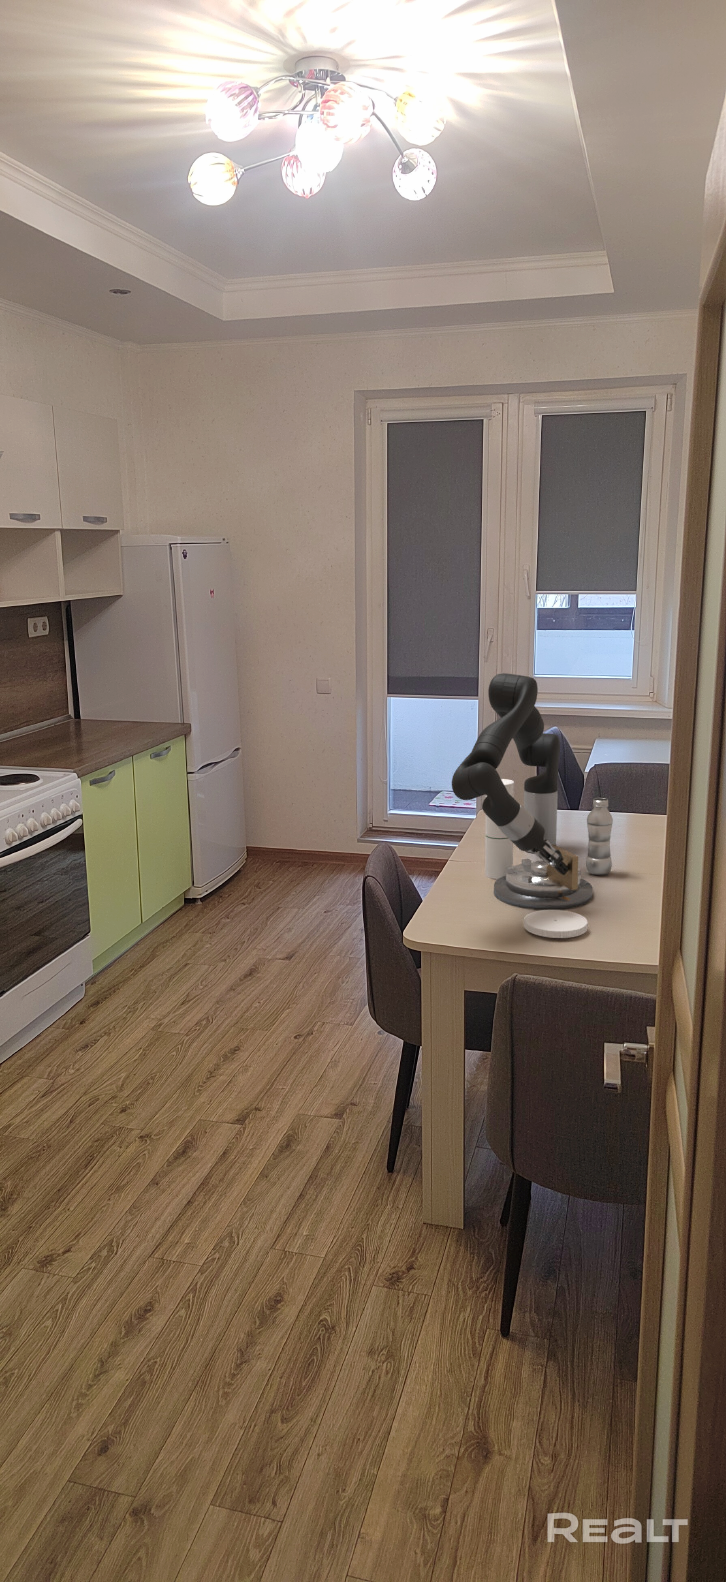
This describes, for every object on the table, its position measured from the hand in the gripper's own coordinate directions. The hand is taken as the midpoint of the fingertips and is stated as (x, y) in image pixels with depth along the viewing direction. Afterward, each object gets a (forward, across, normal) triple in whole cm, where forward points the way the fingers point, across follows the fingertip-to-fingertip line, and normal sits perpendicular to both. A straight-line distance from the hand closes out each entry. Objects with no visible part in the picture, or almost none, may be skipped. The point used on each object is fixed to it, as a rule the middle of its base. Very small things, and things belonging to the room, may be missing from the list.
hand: (565, 871), depth 243 cm
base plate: (+8, +12, +6) cm, 15 cm away
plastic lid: (+1, -10, +13) cm, 17 cm away
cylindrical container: (+6, +30, +8) cm, 31 cm away
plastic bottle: (+23, +20, -9) cm, 32 cm away
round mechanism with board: (+6, +10, +4) cm, 12 cm away
